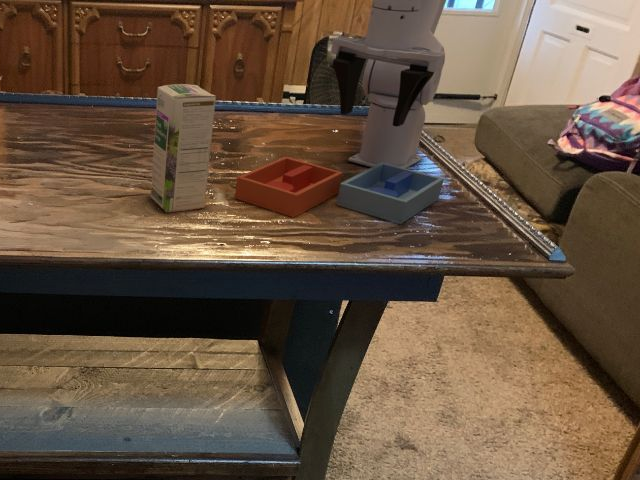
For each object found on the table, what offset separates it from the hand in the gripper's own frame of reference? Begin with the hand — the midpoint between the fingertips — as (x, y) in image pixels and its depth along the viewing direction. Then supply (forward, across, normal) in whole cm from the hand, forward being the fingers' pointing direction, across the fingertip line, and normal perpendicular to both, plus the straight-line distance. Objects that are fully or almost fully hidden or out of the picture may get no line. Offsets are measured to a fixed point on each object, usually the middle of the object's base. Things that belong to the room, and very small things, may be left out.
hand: (371, 118), depth 103 cm
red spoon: (+9, -5, -11) cm, 15 cm away
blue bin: (+10, +6, -2) cm, 11 cm away
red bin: (+10, -5, -10) cm, 15 cm away
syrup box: (+10, -14, -24) cm, 29 cm away
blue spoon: (+9, +6, -3) cm, 11 cm away
